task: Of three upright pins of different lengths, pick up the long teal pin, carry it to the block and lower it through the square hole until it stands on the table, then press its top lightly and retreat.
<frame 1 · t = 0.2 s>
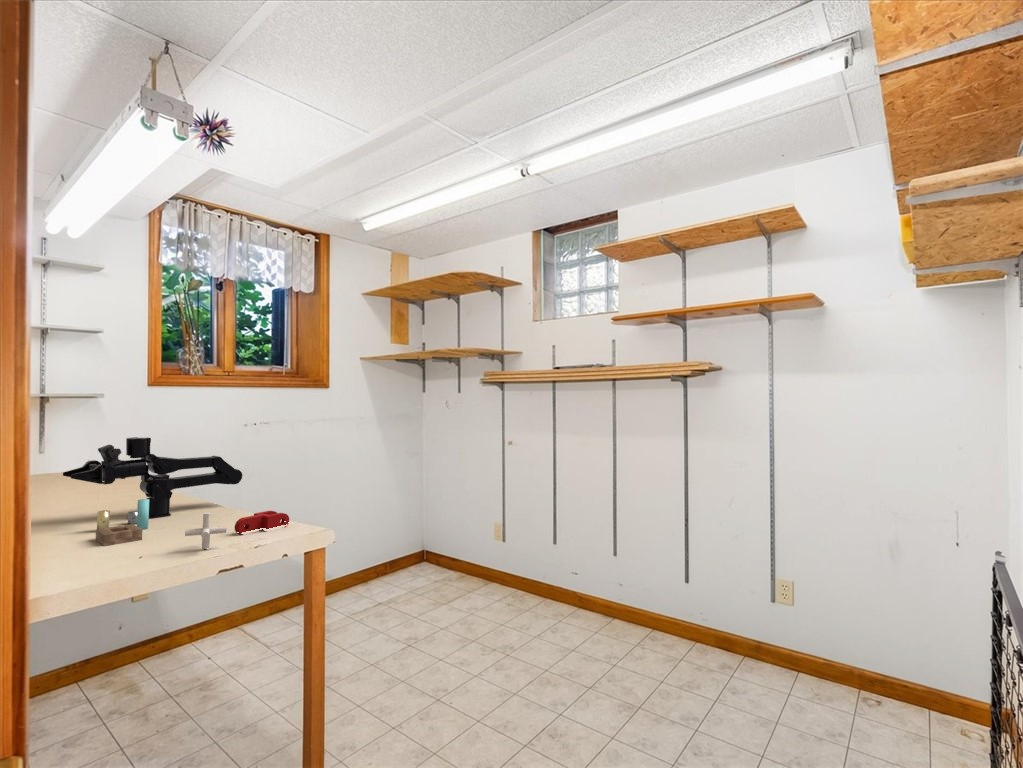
hand: (66, 475, 165), 17 cm above the table, tool horizontal, fingers open, 9 cm apart
pipe connector: (205, 549, 149), on the table
hole block: (118, 539, 155), on the table
pin medium: (102, 530, 164), on the table
mechanical linkage: (260, 531, 170), on the table
pin short: (133, 523, 174), on the table
pin long: (142, 528, 168), on the table
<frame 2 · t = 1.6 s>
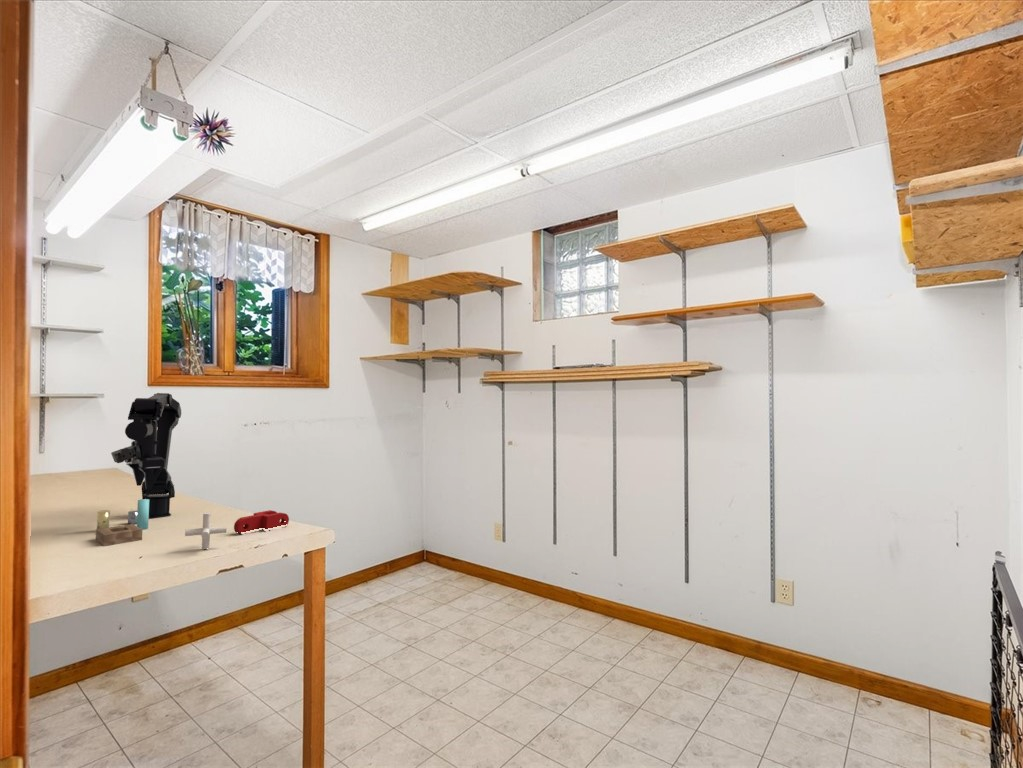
hand: (143, 487, 168), 13 cm above the table, tool pointing down, fingers open, 9 cm apart
nothing on the table moved.
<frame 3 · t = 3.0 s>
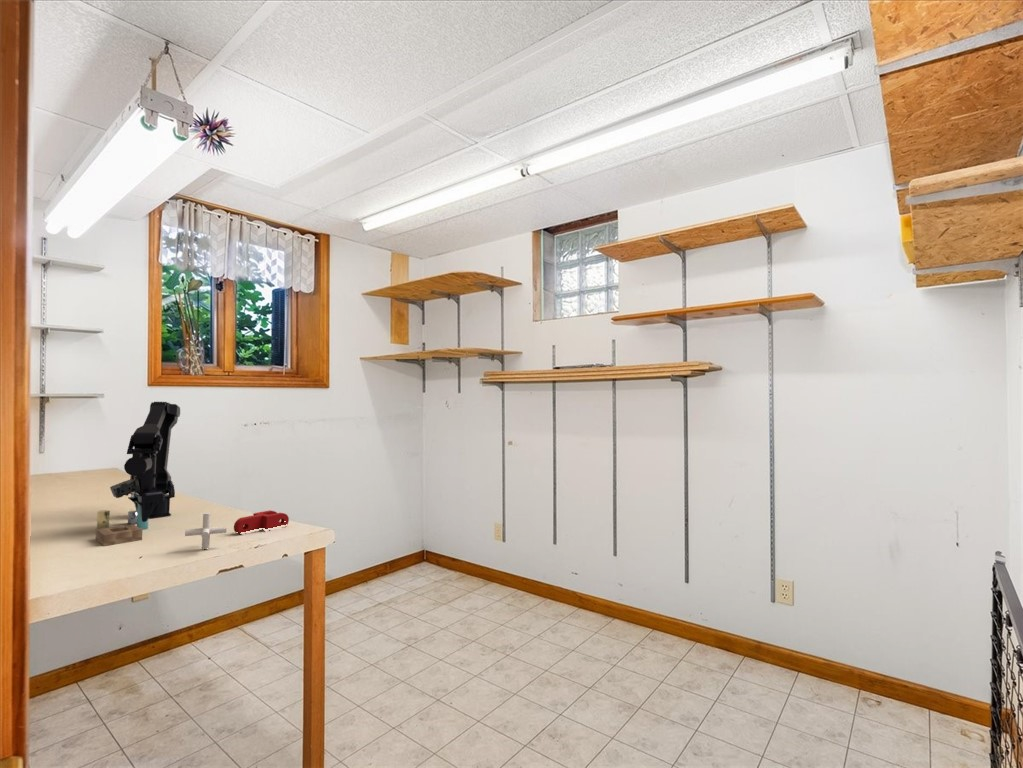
hand: (142, 520, 168), 3 cm above the table, tool pointing down, fingers closed on pin long, 3 cm apart
pin long: (142, 528, 168), on the table, touching gripper
everything else where it was.
when the fingers open (4 cm above the table, at t = 7.3 s): pin long drops 2 cm, resting in hole block.
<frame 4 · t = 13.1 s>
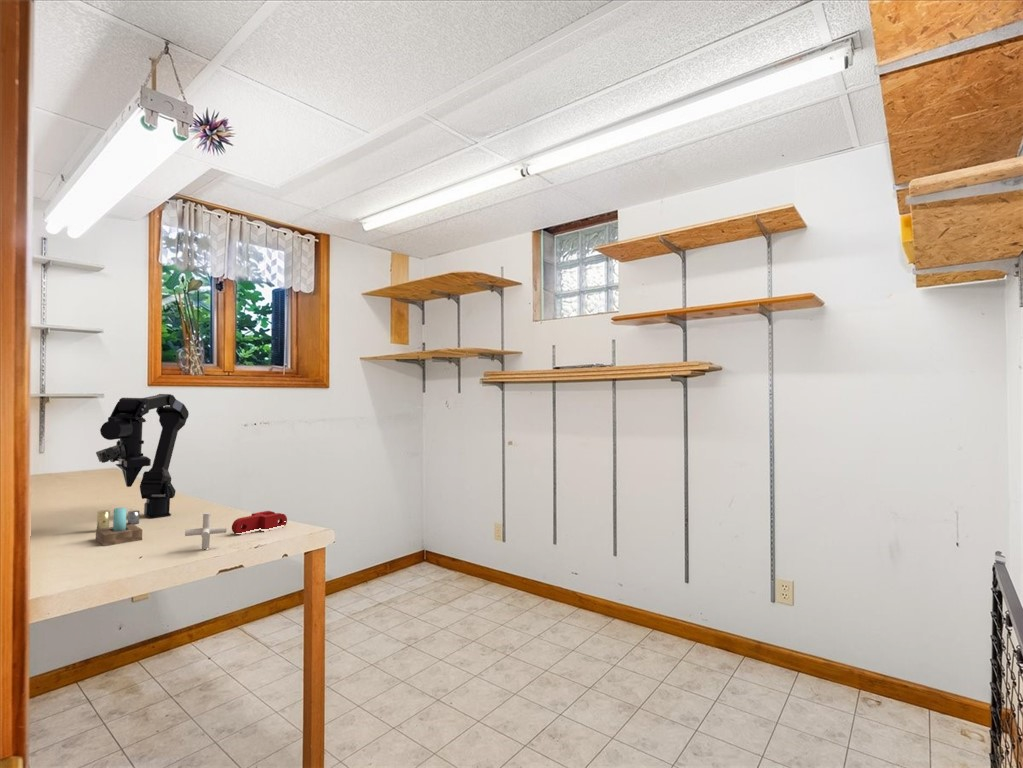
hand: (128, 486, 168), 13 cm above the table, tool pointing down, fingers closed
pin long: (118, 539, 155), resting in hole block
everything else where it was.
at the end: pin long 0.0 cm off-centre on the hole block, point 0.0 cm above the hole block's base; pin long tilted 0°; the gripper is holding nothing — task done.
